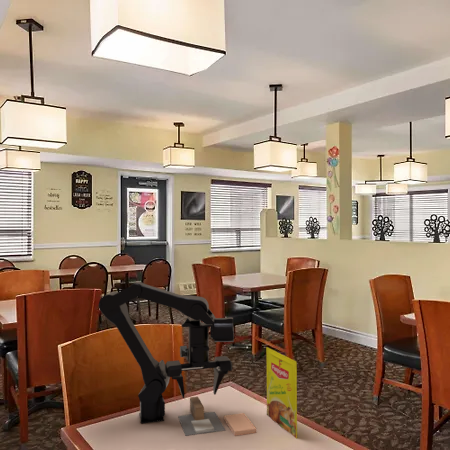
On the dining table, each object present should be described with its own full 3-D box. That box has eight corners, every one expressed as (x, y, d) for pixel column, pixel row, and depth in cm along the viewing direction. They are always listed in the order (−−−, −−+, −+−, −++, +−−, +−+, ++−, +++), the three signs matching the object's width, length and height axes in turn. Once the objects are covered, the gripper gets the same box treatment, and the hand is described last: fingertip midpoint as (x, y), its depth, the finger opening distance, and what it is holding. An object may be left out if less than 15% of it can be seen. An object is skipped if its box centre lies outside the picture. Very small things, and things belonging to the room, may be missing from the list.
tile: (224, 421, 122) (234, 438, 112) (224, 415, 122) (234, 431, 112) (244, 418, 123) (256, 435, 114) (244, 413, 123) (256, 428, 114)
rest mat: (185, 436, 112) (185, 435, 112) (178, 417, 124) (178, 416, 124) (225, 430, 115) (225, 429, 115) (214, 412, 127) (214, 411, 127)
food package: (265, 415, 124) (264, 347, 125) (268, 414, 125) (268, 346, 125) (295, 439, 110) (294, 361, 111) (298, 438, 111) (298, 361, 111)
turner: (185, 411, 127) (185, 397, 127) (202, 409, 128) (202, 396, 128) (195, 433, 113) (195, 417, 113) (214, 430, 115) (213, 415, 115)
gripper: (222, 332, 133) (222, 382, 133) (162, 337, 128) (163, 389, 128) (232, 341, 122) (233, 396, 122) (167, 347, 117) (168, 404, 117)
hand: (199, 395), depth 123 cm, fingers open, 9 cm apart
